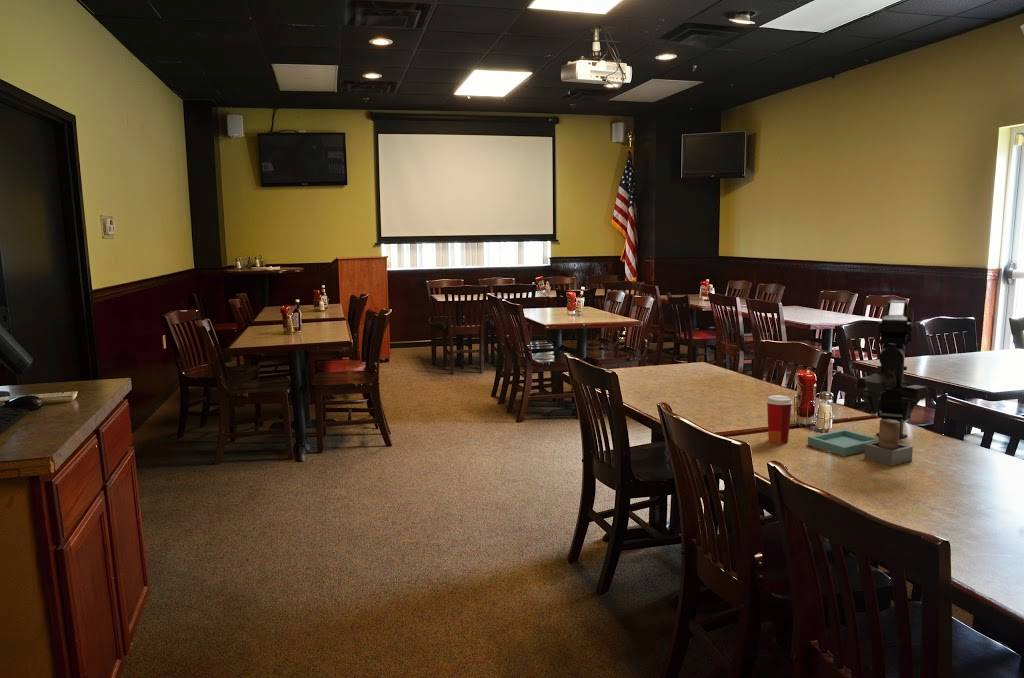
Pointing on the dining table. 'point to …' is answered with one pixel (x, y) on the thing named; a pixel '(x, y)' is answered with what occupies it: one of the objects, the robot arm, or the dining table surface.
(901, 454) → the holder
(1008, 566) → the dining table surface
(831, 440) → the tray
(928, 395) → the robot arm
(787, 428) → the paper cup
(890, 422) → the pepper mill
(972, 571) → the dining table surface
